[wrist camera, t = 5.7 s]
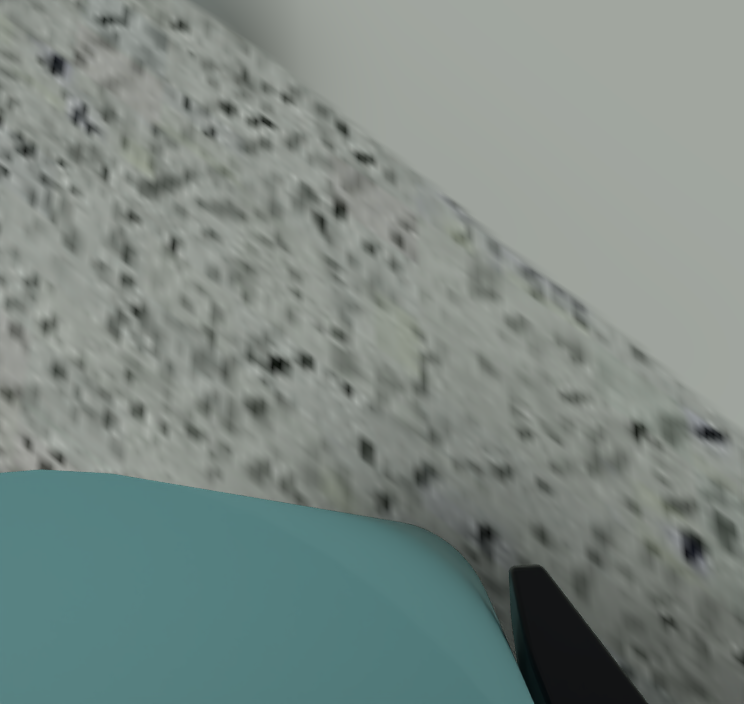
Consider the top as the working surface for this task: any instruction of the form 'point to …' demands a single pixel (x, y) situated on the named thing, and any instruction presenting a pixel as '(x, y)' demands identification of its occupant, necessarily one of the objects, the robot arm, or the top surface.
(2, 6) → the top surface
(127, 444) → the top surface
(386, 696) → the teal post
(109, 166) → the top surface
